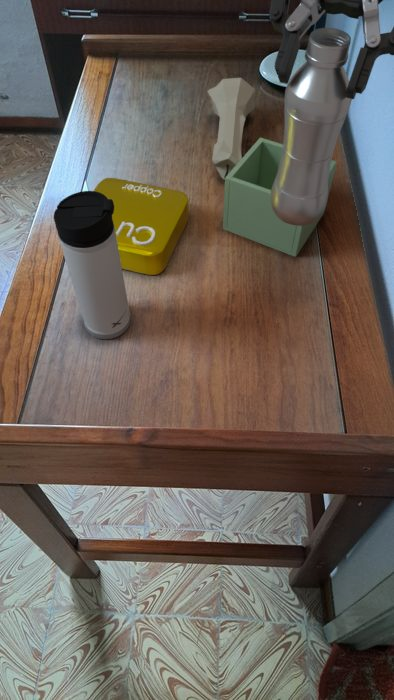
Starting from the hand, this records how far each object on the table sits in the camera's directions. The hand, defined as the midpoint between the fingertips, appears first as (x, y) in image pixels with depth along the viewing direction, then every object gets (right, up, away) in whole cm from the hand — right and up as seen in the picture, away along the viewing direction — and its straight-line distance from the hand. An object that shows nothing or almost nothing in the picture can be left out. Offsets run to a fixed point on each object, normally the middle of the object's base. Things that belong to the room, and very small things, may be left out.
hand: (316, 87), depth 47 cm
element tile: (-21, -6, +33) cm, 40 cm away
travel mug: (-23, -21, +23) cm, 39 cm away
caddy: (+1, -4, +34) cm, 35 cm away
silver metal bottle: (+1, -8, +14) cm, 17 cm away
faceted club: (-6, +13, +46) cm, 48 cm away
